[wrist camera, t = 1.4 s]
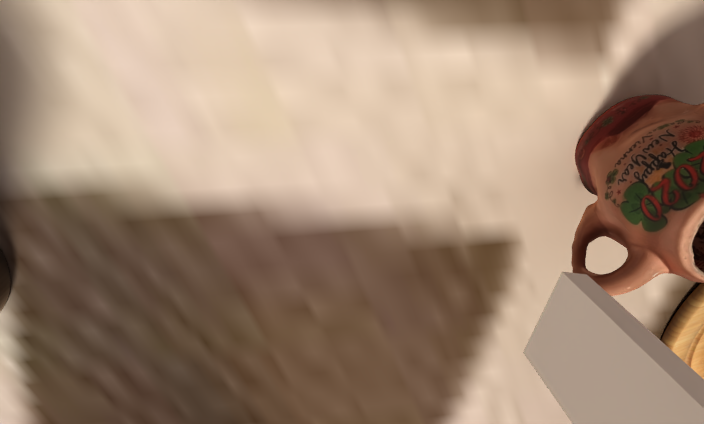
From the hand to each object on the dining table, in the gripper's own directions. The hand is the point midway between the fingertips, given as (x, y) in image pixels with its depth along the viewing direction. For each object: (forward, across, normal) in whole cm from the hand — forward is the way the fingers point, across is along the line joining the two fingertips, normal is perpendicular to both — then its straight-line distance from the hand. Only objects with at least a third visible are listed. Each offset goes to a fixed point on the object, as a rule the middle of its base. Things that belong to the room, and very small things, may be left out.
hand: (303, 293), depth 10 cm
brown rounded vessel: (+27, +31, -1) cm, 41 cm away
